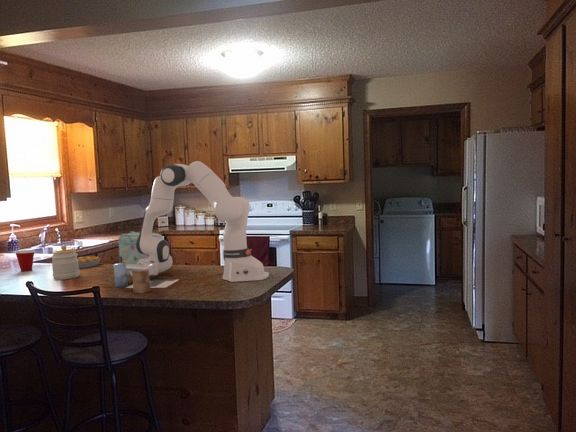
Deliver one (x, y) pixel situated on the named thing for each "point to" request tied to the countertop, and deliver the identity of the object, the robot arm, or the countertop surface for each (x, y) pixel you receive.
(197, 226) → the countertop surface
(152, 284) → the letter board
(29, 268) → the plastic cup
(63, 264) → the jar
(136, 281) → the walnut block
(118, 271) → the canister
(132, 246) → the lunch box
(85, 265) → the pie
